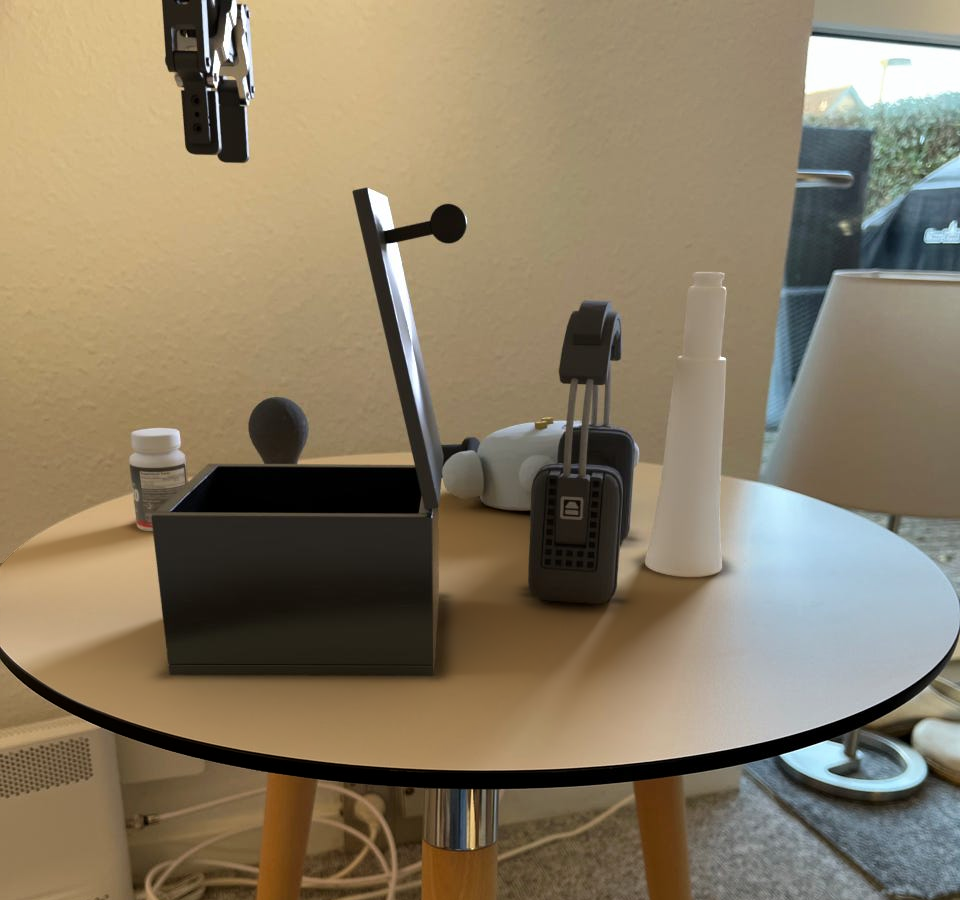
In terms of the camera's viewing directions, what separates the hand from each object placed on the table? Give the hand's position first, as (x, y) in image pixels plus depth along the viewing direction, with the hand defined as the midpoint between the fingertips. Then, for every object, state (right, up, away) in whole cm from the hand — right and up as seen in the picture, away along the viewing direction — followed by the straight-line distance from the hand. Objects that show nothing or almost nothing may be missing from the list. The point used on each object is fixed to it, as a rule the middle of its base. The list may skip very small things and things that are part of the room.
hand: (219, 158), depth 71 cm
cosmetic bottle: (+34, -28, +10) cm, 45 cm away
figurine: (+23, -20, +29) cm, 42 cm away
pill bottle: (-10, -24, +20) cm, 32 cm away
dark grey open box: (+8, -33, -4) cm, 34 cm away
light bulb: (-1, -20, +28) cm, 35 cm away
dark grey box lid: (+13, -16, -11) cm, 24 cm away
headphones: (+26, -28, +10) cm, 40 cm away
